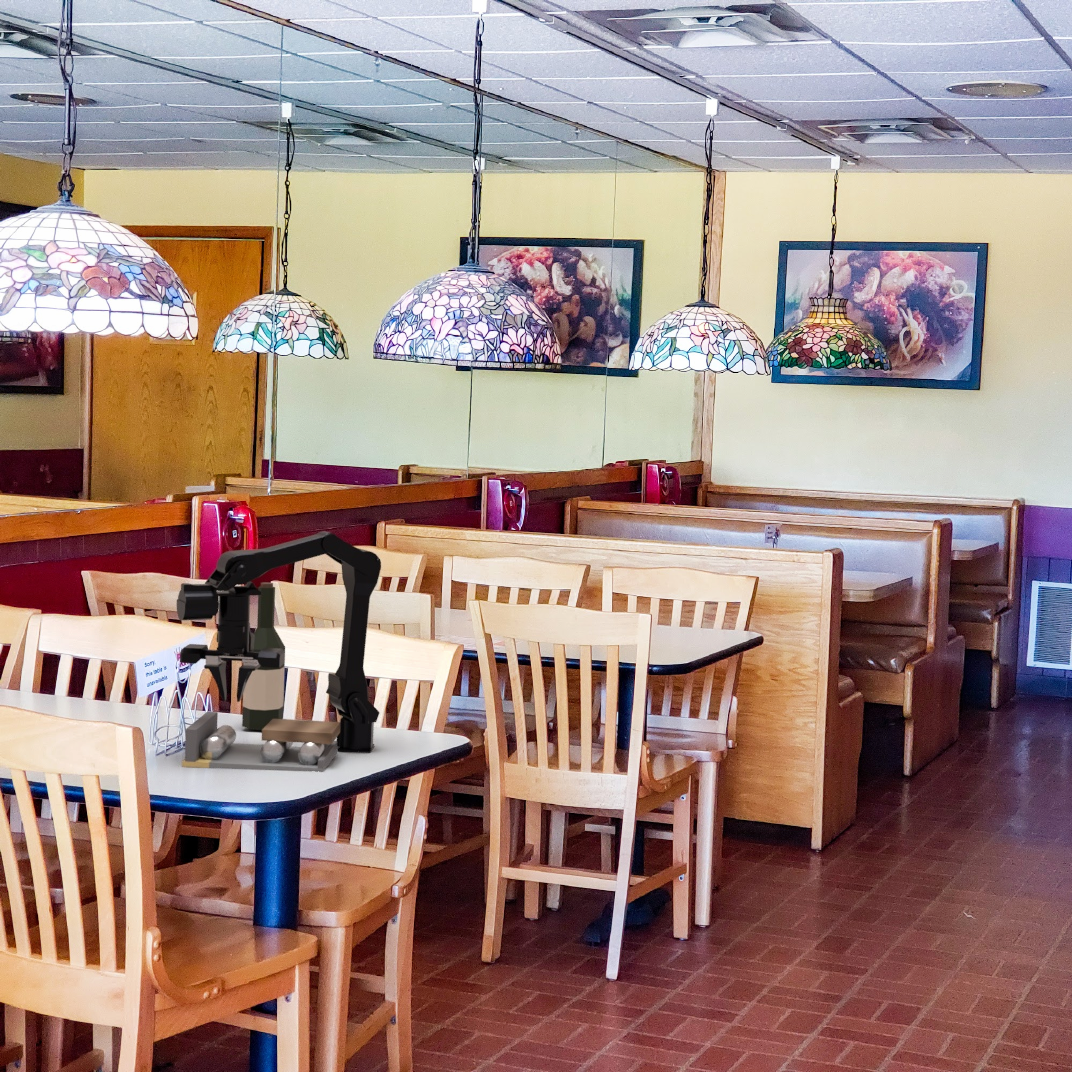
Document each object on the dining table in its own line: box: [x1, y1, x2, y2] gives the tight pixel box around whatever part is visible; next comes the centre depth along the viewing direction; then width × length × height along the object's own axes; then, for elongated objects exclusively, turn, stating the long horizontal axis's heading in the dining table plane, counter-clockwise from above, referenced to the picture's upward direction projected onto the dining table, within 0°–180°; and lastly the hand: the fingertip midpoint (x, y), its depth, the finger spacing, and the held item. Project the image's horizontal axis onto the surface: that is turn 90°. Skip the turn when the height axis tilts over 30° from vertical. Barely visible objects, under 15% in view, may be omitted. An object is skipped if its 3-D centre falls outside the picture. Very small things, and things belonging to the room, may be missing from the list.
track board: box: [181, 711, 338, 773], centre depth 278 cm, size 26×16×7 cm, turn 88°
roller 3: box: [298, 743, 330, 765], centre depth 278 cm, size 12×4×4 cm, turn 178°
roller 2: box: [260, 741, 294, 763], centre depth 278 cm, size 12×4×4 cm, turn 178°
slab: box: [261, 718, 340, 745], centre depth 277 cm, size 13×10×2 cm
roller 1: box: [200, 724, 237, 760], centre depth 278 cm, size 12×4×4 cm
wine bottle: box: [241, 581, 286, 731], centre depth 306 cm, size 8×8×30 cm
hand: (231, 701), depth 277 cm, fingers closed
